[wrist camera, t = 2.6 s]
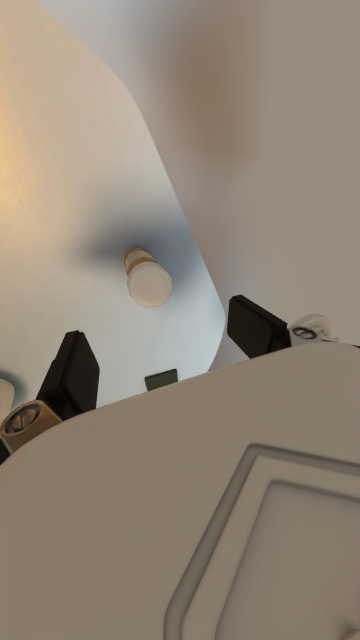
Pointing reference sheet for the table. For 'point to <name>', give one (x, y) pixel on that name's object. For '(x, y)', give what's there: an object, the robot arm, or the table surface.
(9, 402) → the cup
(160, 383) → the mat
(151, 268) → the sprinkles bottle
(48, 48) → the table surface
